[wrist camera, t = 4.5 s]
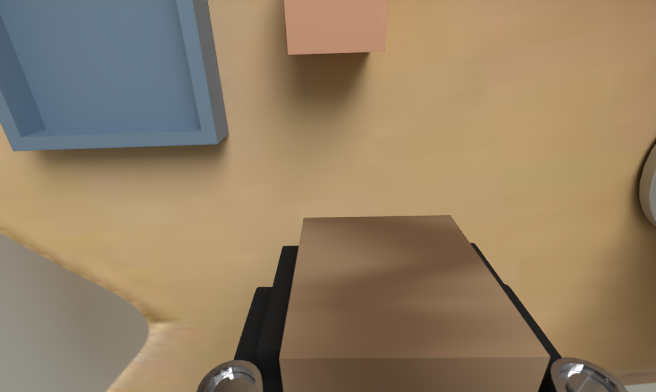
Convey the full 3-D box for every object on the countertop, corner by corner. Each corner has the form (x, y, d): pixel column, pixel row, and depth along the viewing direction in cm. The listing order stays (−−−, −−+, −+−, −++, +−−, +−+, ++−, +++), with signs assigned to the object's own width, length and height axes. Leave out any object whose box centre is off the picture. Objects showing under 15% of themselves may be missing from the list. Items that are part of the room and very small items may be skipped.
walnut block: (450, 215, 10) (550, 356, 5) (434, 324, 12) (498, 499, 7) (303, 217, 10) (279, 359, 5) (311, 325, 12) (297, 498, 7)
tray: (177, -185, 15) (152, -226, 13) (228, 133, 21) (217, 144, 19) (-83, -178, 15) (-156, -219, 13) (46, 140, 21) (13, 151, 19)
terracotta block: (371, -40, 18) (390, -71, 13) (369, 50, 19) (384, 51, 15) (289, -38, 18) (279, -68, 13) (295, 52, 19) (288, 54, 15)
